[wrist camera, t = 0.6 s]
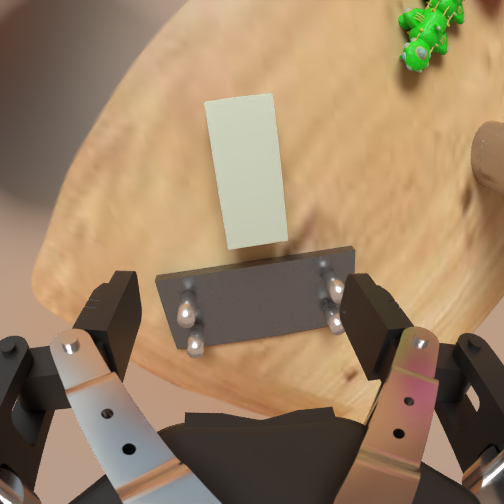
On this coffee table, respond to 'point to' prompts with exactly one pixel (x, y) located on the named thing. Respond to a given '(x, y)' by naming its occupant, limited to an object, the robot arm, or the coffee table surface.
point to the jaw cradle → (255, 298)
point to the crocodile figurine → (428, 31)
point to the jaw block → (248, 169)
